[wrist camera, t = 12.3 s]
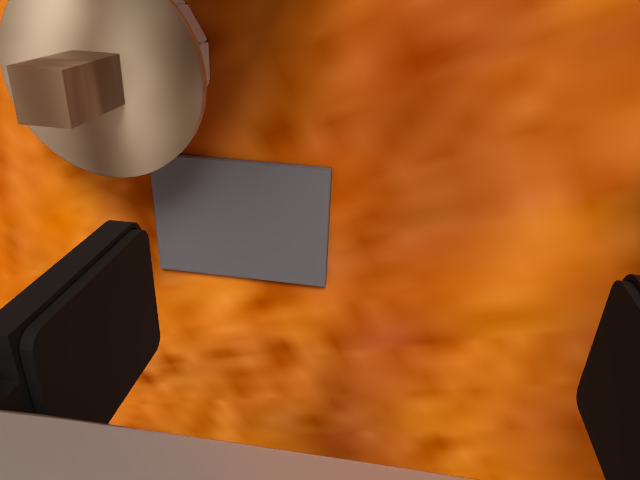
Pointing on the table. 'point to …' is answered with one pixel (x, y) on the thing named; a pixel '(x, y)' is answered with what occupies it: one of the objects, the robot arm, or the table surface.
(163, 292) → the table surface
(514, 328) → the table surface
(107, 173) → the lid
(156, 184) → the mat
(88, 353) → the robot arm
